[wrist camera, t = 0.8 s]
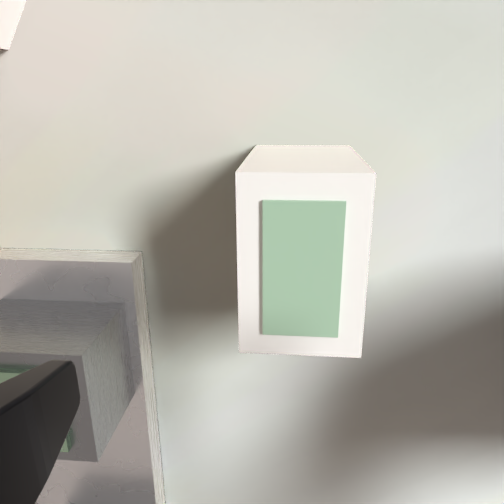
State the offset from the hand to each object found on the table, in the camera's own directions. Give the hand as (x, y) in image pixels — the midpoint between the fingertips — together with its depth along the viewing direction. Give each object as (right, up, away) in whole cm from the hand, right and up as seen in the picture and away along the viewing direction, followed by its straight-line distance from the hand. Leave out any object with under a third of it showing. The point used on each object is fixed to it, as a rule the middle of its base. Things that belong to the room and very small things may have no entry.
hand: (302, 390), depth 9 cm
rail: (-10, -8, +17) cm, 21 cm away
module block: (+1, +4, +12) cm, 13 cm away
